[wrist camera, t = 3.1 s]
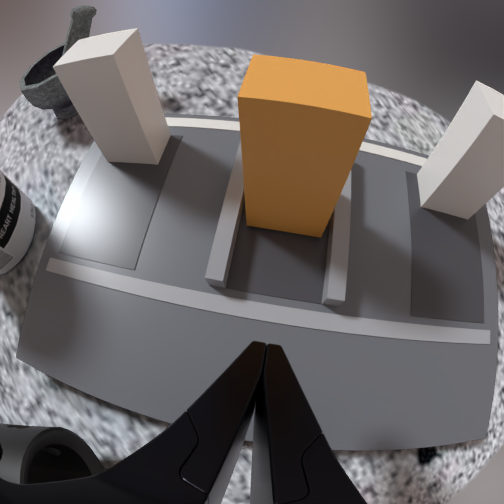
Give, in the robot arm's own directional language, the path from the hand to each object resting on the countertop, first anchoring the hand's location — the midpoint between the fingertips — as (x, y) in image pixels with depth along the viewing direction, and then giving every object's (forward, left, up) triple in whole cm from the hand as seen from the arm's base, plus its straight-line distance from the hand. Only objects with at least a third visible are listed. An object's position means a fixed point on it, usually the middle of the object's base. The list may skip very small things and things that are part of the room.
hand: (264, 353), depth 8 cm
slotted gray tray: (+2, -6, -11) cm, 12 cm away
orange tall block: (+3, -9, -8) cm, 12 cm away
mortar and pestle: (+32, -13, -11) cm, 36 cm away
